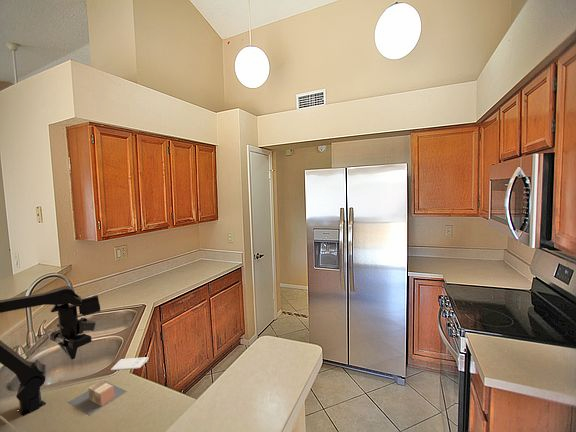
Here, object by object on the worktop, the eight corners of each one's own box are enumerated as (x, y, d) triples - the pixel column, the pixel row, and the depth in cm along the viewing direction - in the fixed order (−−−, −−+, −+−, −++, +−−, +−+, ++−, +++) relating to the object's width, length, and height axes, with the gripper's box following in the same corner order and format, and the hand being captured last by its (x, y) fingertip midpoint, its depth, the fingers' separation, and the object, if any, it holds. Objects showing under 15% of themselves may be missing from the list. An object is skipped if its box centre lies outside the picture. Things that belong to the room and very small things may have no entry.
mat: (67, 403, 102) (67, 402, 102) (105, 382, 114) (105, 381, 114) (89, 416, 95) (89, 415, 95) (127, 392, 107) (127, 391, 106)
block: (88, 387, 103) (100, 394, 99) (101, 380, 107) (113, 386, 103) (89, 399, 103) (101, 406, 99) (102, 391, 107) (114, 397, 103)
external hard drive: (121, 362, 129) (148, 359, 130) (110, 373, 121) (140, 370, 121) (121, 358, 129) (148, 356, 129) (110, 369, 121) (139, 367, 121)
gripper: (104, 314, 110) (108, 353, 111) (79, 308, 119) (83, 344, 120) (71, 327, 100) (76, 369, 101) (47, 319, 109) (51, 357, 110)
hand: (72, 358), depth 108 cm, fingers closed
